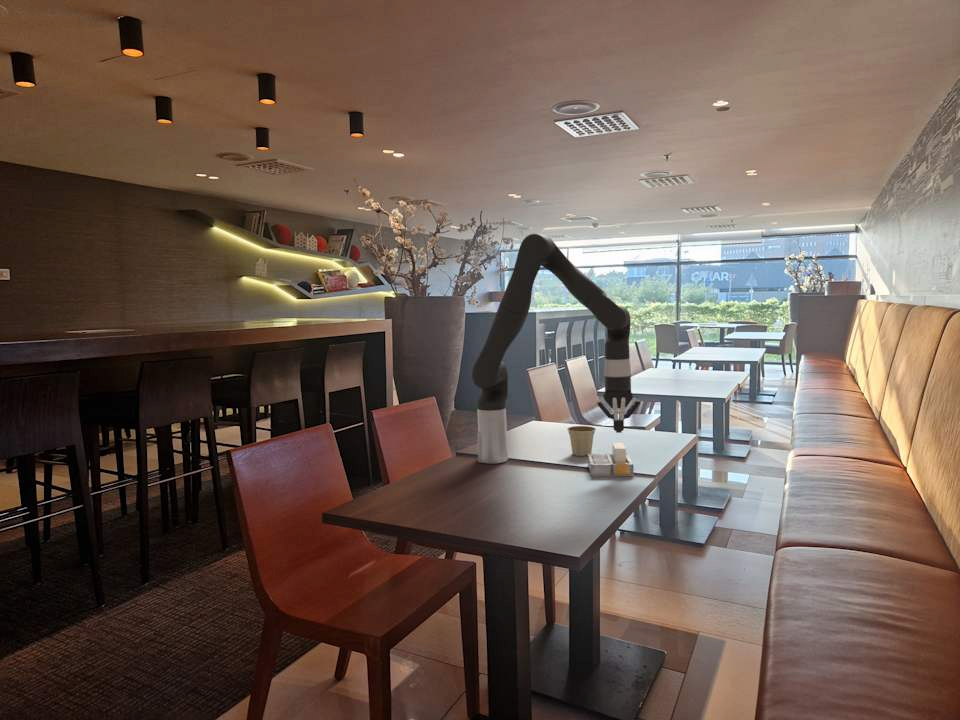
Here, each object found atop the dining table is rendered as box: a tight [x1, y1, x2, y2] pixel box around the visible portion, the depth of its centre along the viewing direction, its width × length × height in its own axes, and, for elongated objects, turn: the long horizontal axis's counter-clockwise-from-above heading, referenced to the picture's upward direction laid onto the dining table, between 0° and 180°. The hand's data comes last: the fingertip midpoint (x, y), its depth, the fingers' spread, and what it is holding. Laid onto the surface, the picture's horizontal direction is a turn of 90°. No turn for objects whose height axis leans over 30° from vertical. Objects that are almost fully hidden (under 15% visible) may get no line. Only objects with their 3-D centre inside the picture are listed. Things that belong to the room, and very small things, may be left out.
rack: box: [587, 452, 634, 478], centre depth 186 cm, size 12×13×4 cm
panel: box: [611, 442, 627, 464], centre depth 186 cm, size 3×8×7 cm, turn 174°
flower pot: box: [567, 425, 597, 457], centre depth 207 cm, size 9×9×9 cm
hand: (618, 432), depth 185 cm, fingers closed
